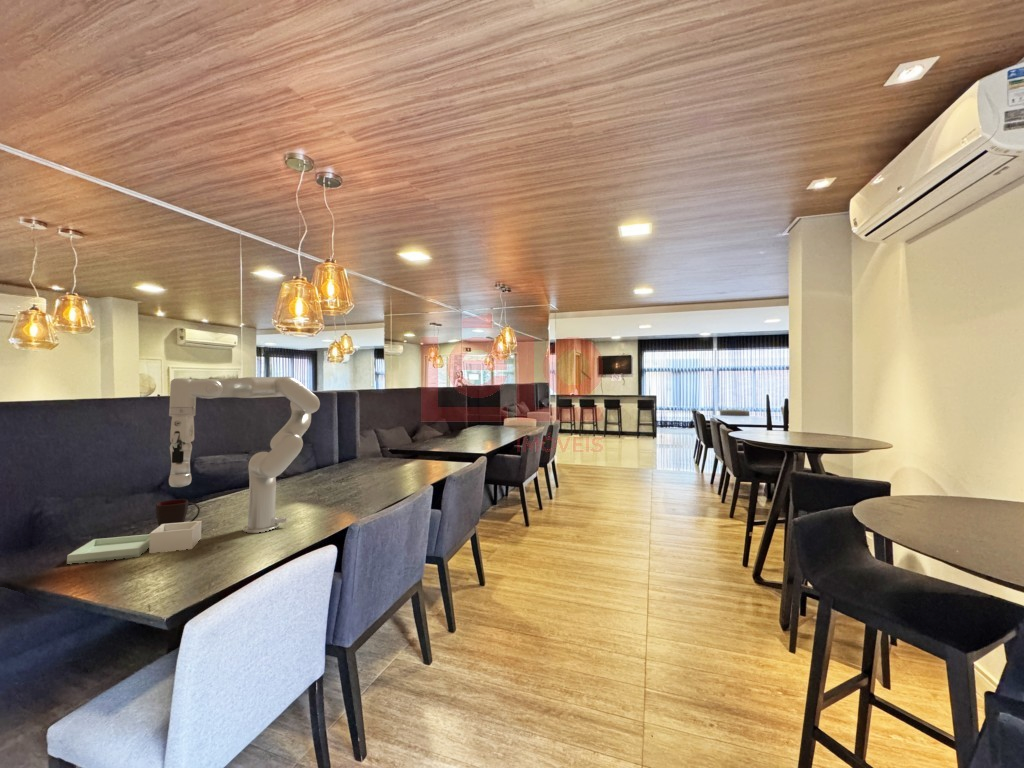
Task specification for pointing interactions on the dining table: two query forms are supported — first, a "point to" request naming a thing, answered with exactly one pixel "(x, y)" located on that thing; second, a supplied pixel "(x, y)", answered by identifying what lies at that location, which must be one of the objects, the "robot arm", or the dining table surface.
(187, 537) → the white storage bin
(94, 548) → the tray
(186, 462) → the plastic bottle
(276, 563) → the dining table surface
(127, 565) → the dining table surface
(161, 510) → the mug
